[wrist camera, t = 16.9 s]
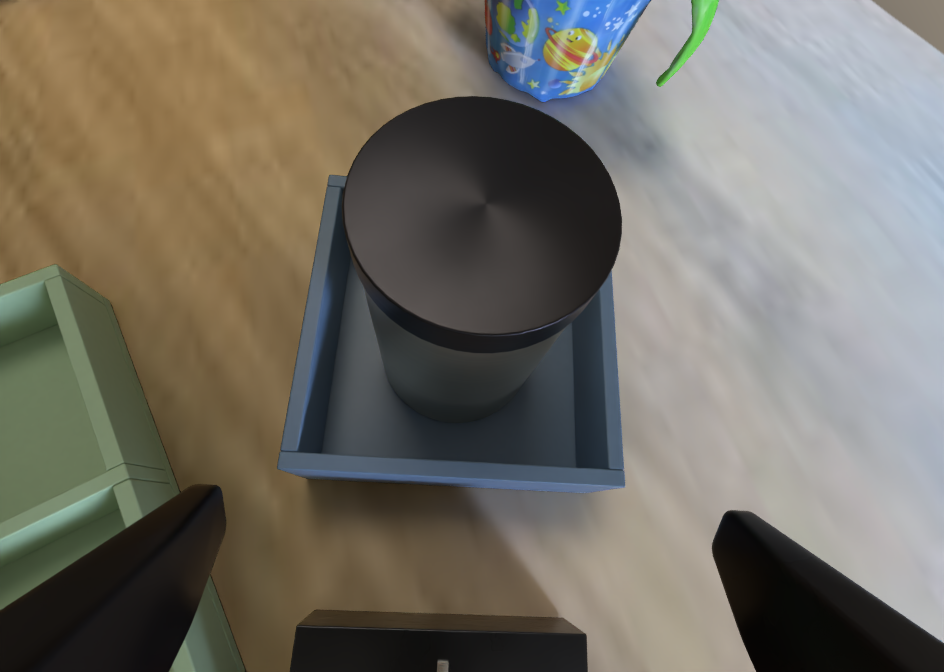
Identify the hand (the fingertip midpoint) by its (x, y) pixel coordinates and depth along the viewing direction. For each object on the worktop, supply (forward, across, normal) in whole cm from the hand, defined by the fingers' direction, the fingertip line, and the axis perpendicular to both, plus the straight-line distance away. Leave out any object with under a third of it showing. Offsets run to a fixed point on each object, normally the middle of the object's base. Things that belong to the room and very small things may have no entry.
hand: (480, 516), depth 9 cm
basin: (+14, 0, +4) cm, 15 cm away
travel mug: (+14, 0, +4) cm, 14 cm away
